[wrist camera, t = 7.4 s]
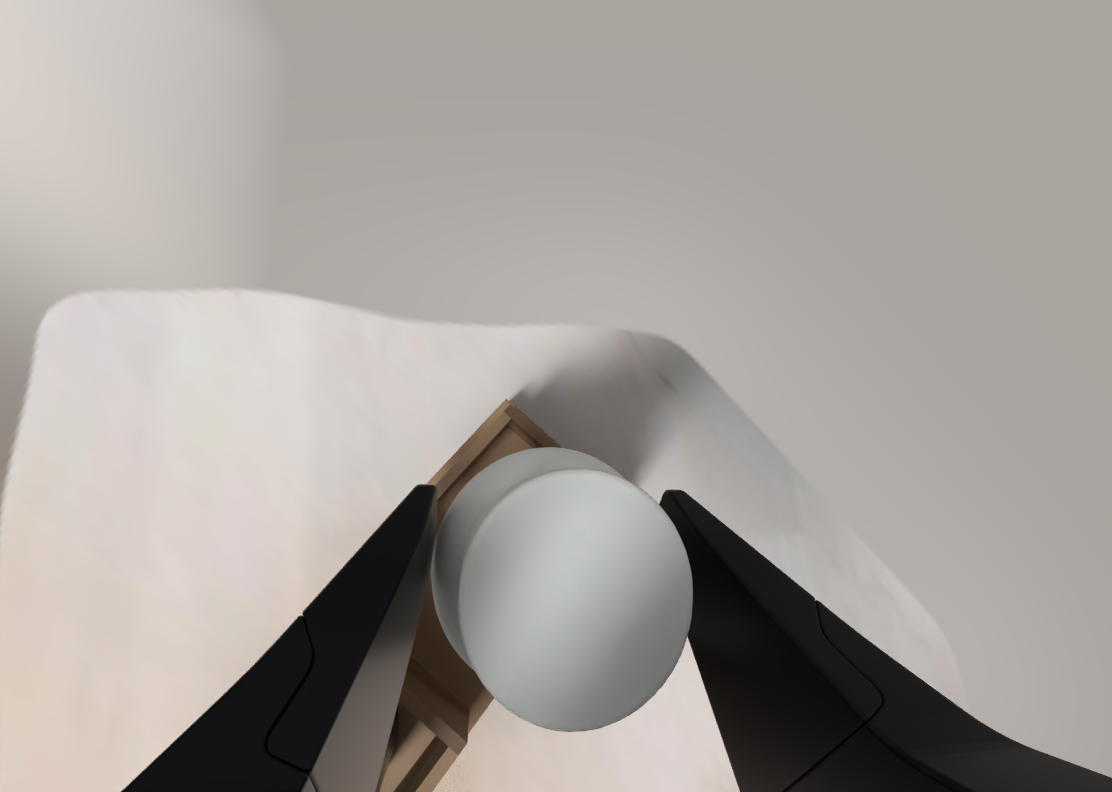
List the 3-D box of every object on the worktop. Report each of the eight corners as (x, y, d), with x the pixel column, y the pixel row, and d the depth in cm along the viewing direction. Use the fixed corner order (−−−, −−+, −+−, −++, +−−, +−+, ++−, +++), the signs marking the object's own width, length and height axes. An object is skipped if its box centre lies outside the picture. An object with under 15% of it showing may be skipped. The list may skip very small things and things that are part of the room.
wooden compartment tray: (504, 404, 23) (509, 387, 19) (622, 508, 23) (650, 511, 19) (188, 742, 17) (103, 815, 13) (343, 886, 17) (302, 1002, 13)
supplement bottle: (422, 561, 15) (324, 671, 6) (501, 439, 16) (525, 369, 7) (545, 636, 15) (647, 865, 6) (611, 508, 16) (773, 526, 7)
